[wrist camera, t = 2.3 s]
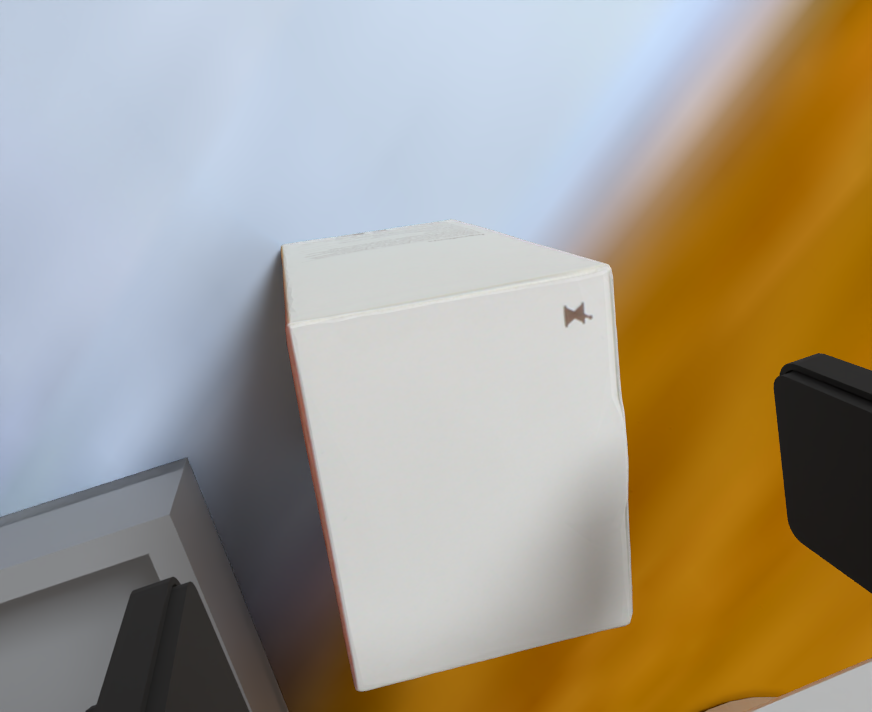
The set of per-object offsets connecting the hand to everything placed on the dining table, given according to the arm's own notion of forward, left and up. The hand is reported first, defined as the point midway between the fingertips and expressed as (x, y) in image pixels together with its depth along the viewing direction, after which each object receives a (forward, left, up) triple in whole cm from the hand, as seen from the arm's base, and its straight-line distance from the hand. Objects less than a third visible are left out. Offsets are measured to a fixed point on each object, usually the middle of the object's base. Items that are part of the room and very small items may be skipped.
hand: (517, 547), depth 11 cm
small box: (-1, 0, -16) cm, 16 cm away
